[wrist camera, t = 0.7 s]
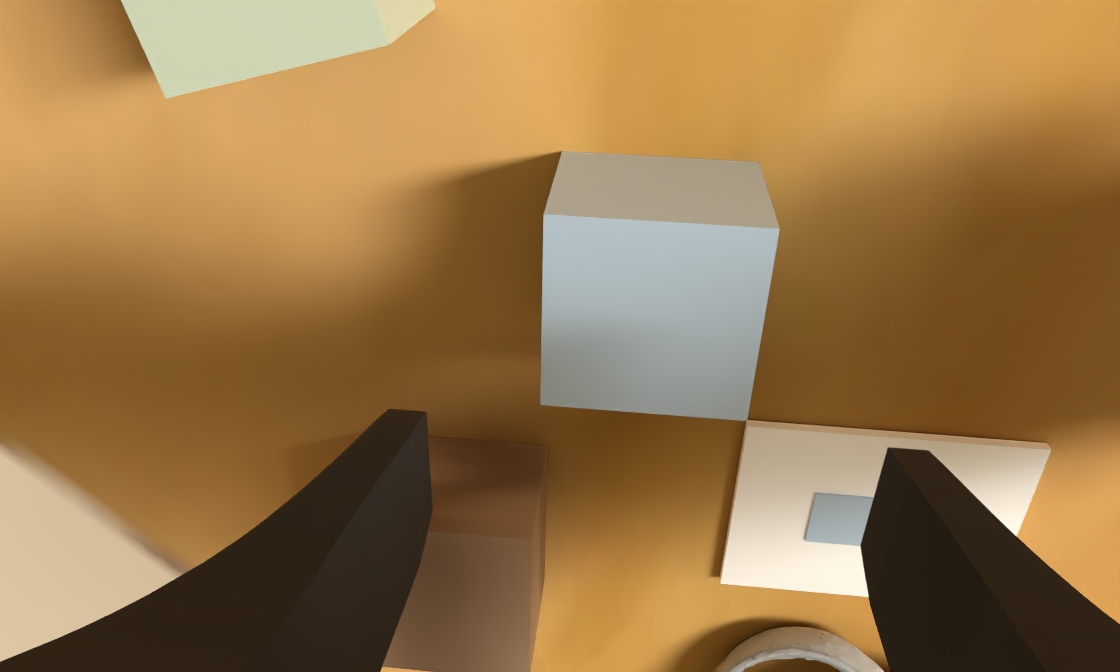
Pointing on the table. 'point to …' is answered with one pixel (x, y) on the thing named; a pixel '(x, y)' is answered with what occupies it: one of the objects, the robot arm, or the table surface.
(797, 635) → the ceramic mug
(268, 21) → the brick
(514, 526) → the base brick
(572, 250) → the blue brick
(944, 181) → the table surface
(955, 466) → the page
